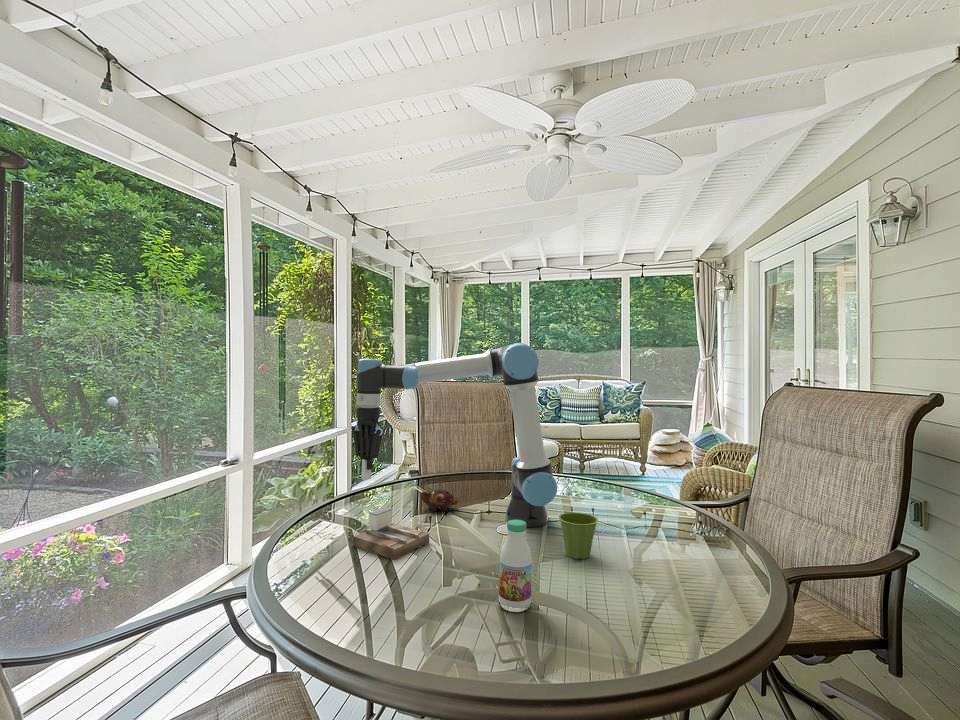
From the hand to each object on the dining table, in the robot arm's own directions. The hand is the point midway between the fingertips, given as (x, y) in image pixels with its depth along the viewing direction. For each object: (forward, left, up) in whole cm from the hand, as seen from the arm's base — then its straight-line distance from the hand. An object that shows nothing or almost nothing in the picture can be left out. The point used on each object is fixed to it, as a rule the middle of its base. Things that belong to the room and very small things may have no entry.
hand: (366, 478), depth 159 cm
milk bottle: (-61, +11, -19) cm, 65 cm away
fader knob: (-7, 0, -16) cm, 17 cm away
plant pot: (-62, -27, -19) cm, 70 cm away
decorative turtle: (-2, -37, -19) cm, 42 cm away
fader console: (-12, 0, -19) cm, 22 cm away
